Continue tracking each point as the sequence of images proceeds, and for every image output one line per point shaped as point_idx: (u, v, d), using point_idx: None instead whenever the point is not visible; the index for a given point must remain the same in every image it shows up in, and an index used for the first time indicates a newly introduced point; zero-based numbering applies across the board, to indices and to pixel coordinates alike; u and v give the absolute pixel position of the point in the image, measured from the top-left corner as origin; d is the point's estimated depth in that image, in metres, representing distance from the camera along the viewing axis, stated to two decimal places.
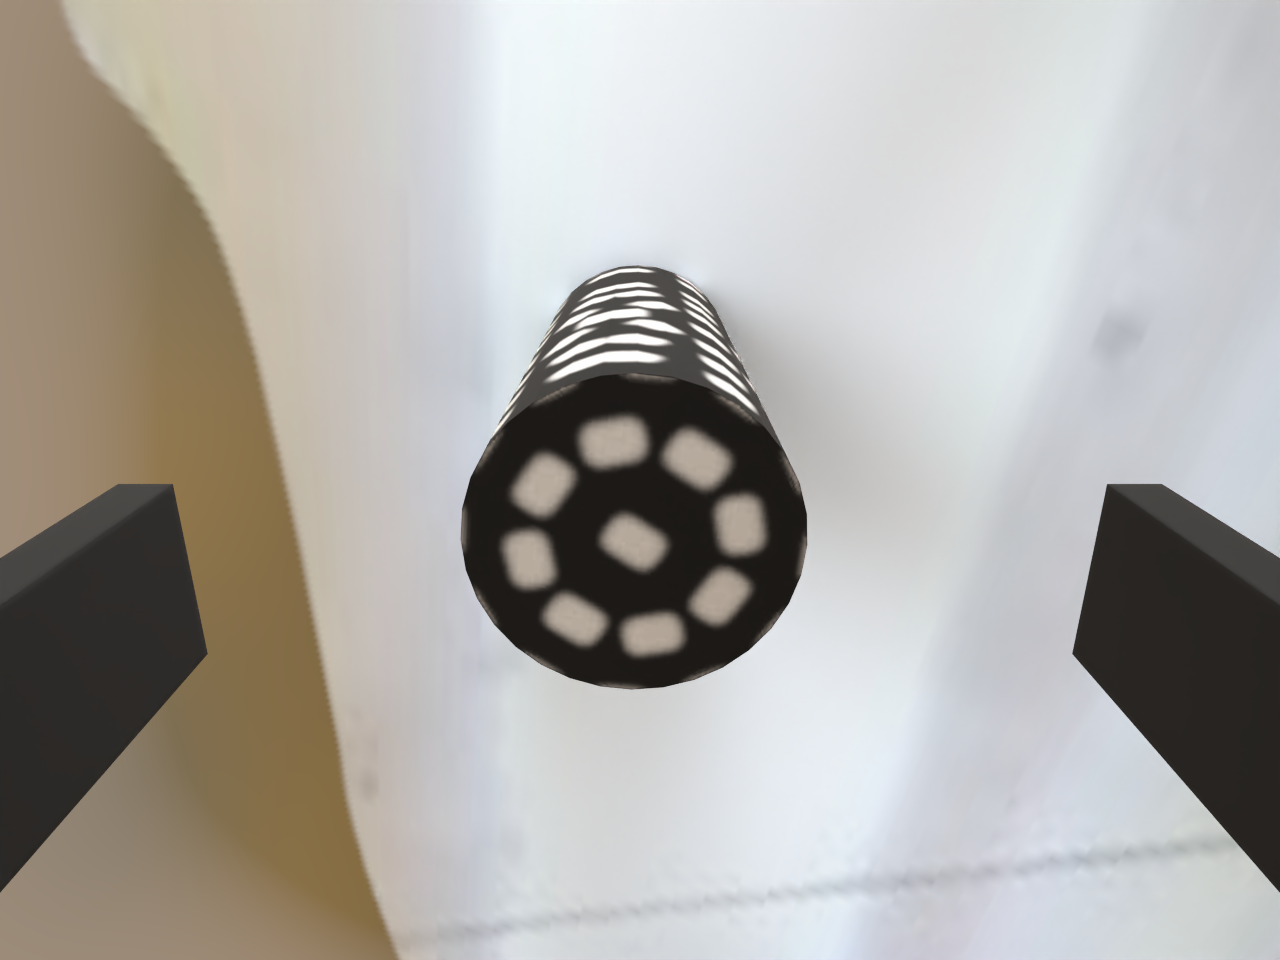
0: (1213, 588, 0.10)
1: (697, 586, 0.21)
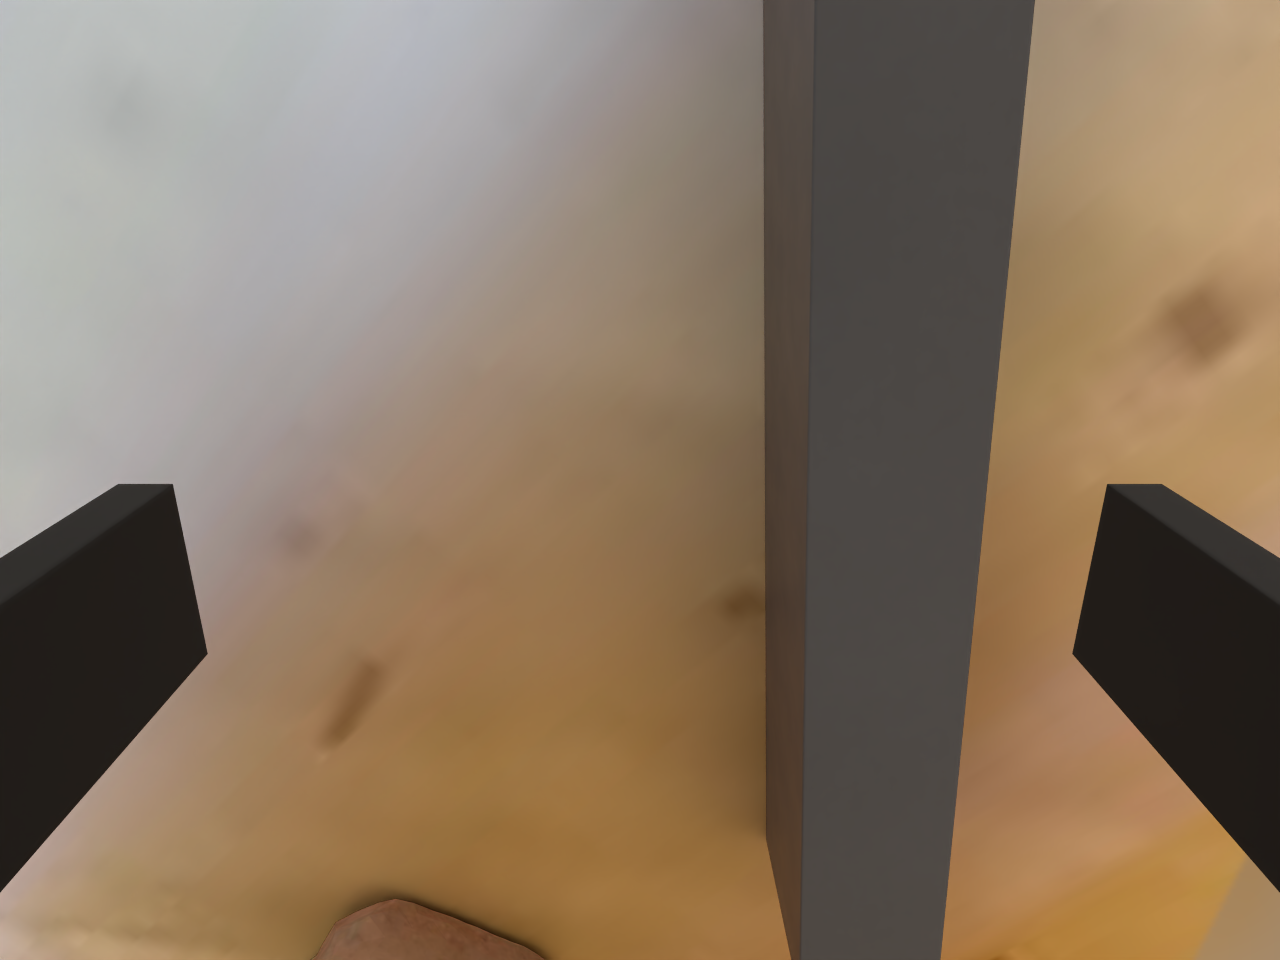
0: (1213, 588, 0.10)
1: None
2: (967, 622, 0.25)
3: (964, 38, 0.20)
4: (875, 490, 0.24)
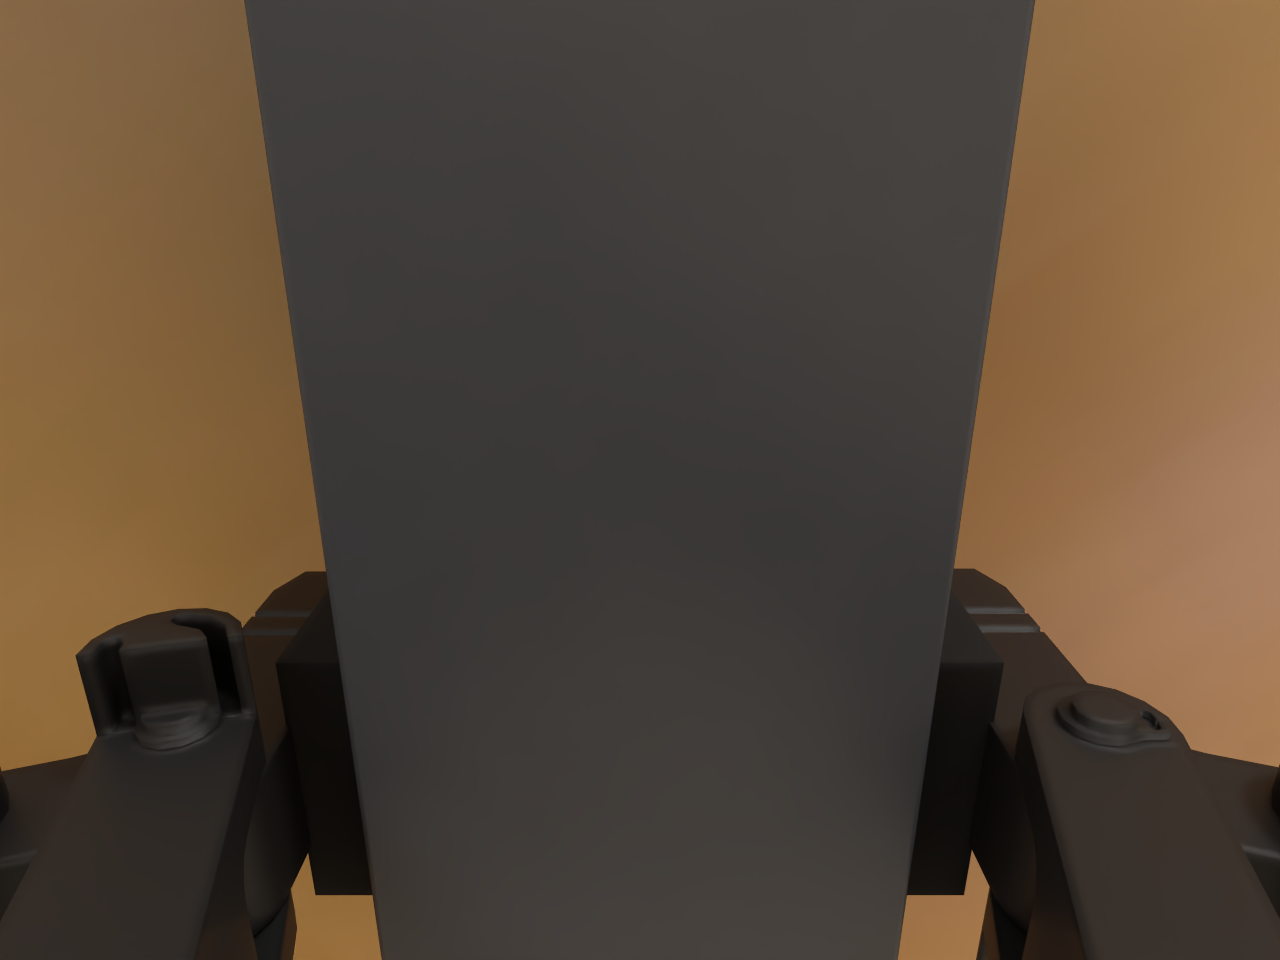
0: None
1: None
2: None
3: None
4: None
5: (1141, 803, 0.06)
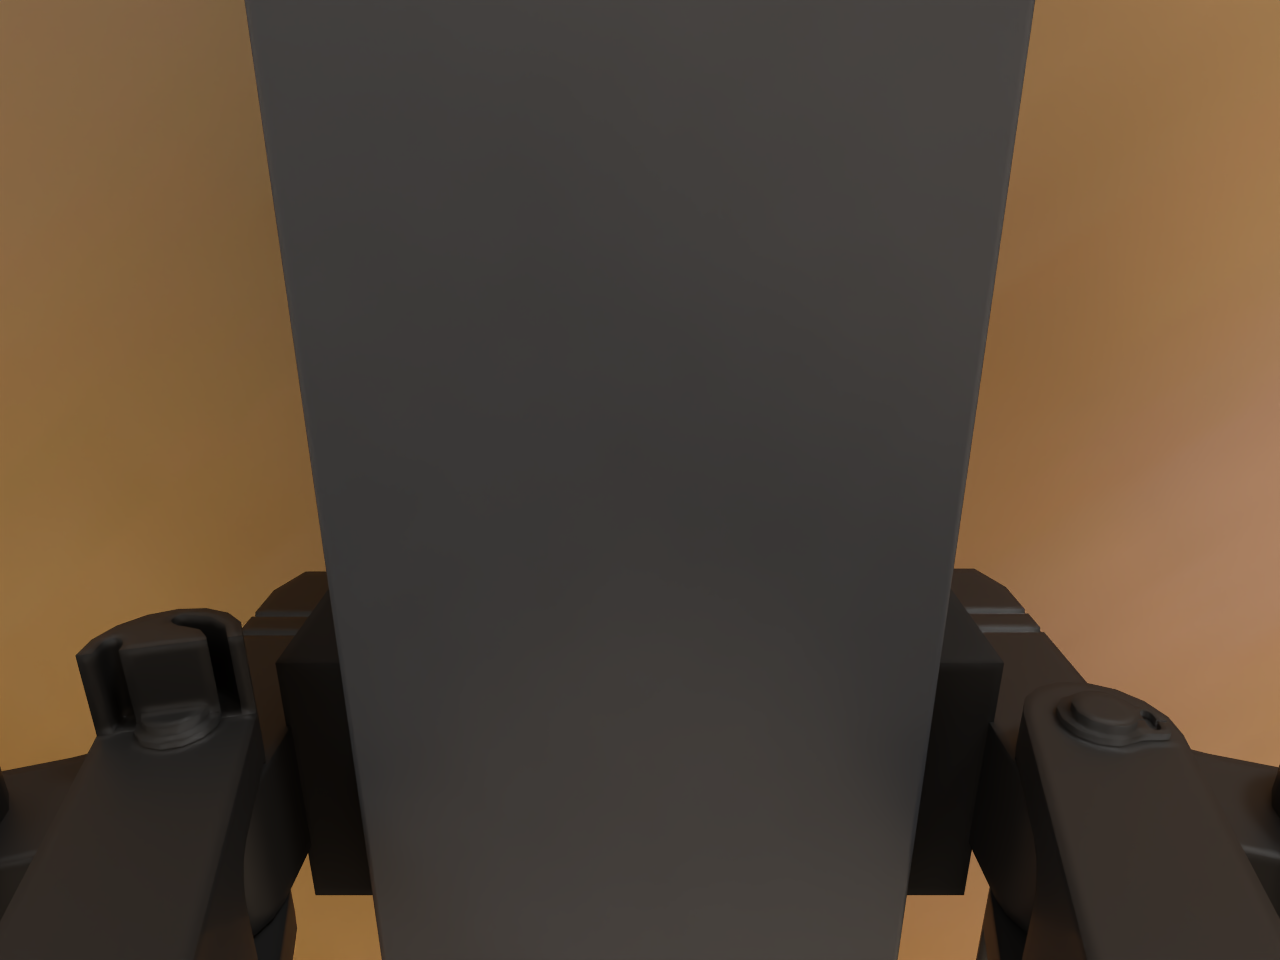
0: None
1: None
2: None
3: None
4: None
5: (1141, 803, 0.06)
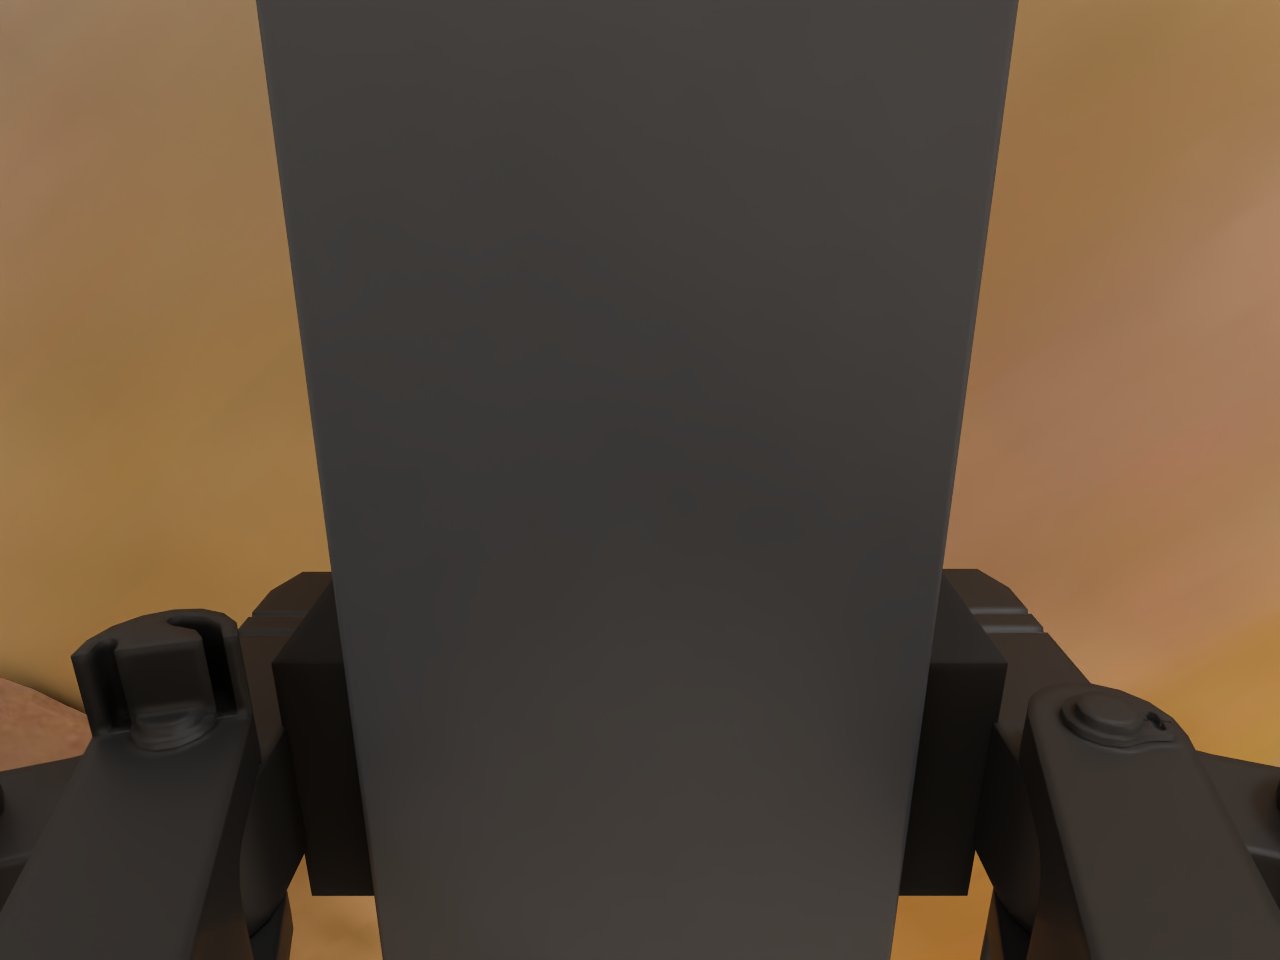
0: None
1: None
2: None
3: None
4: None
5: (1146, 803, 0.06)
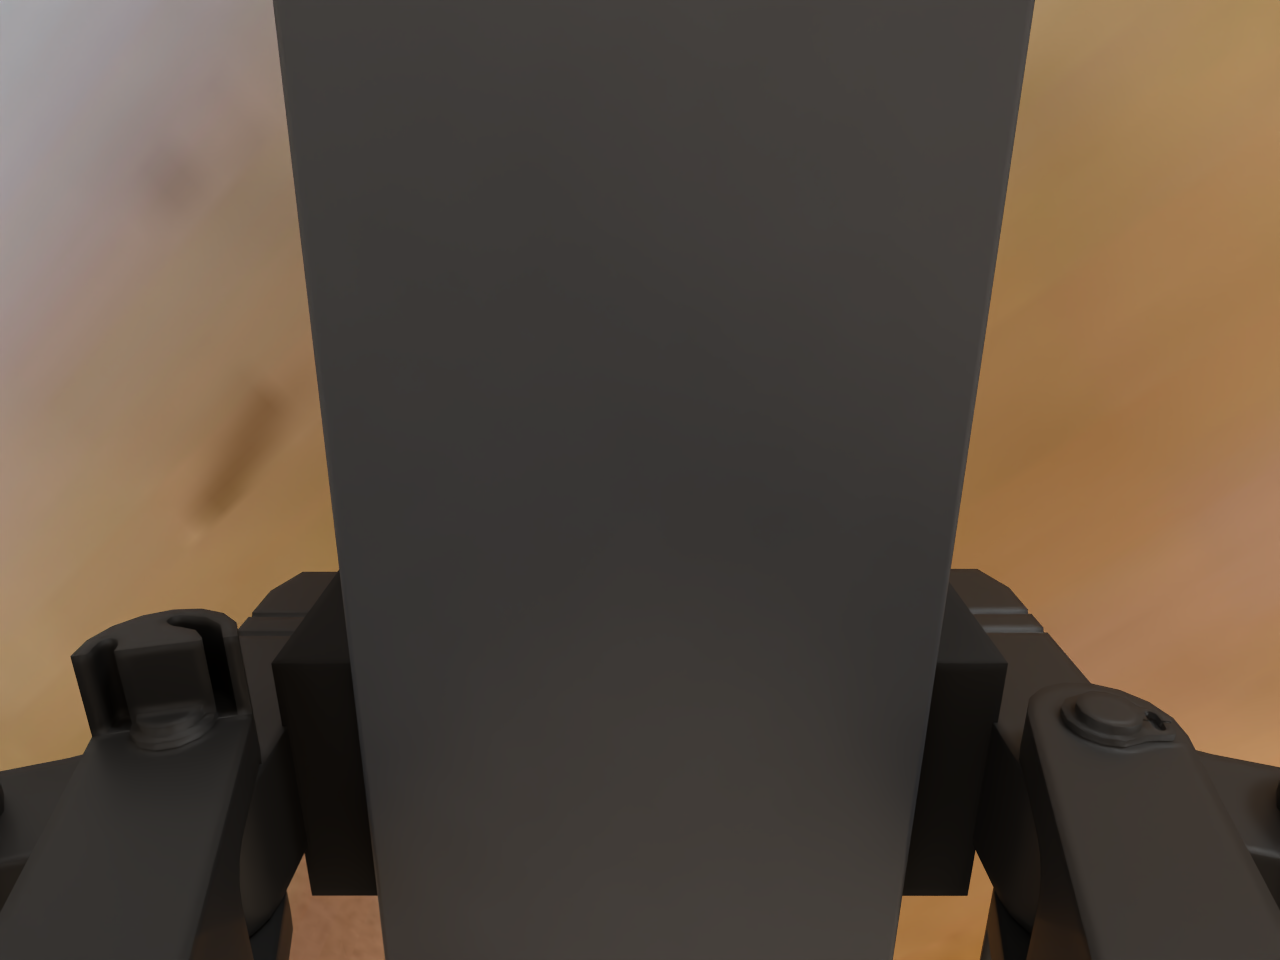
0: None
1: None
2: None
3: None
4: None
5: (1147, 803, 0.06)
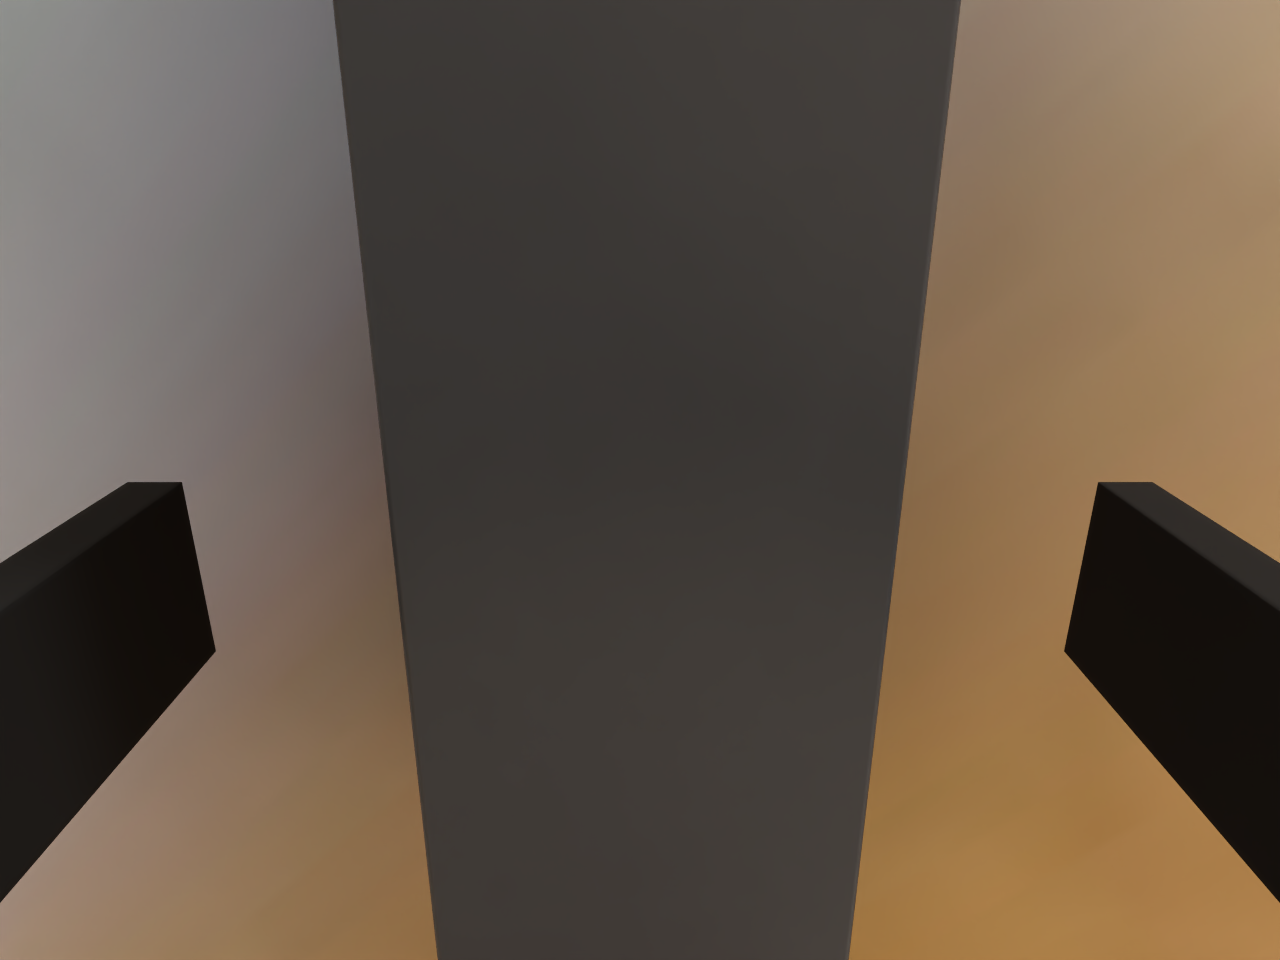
0: (1201, 585, 0.10)
1: None
2: None
3: None
4: None
5: None
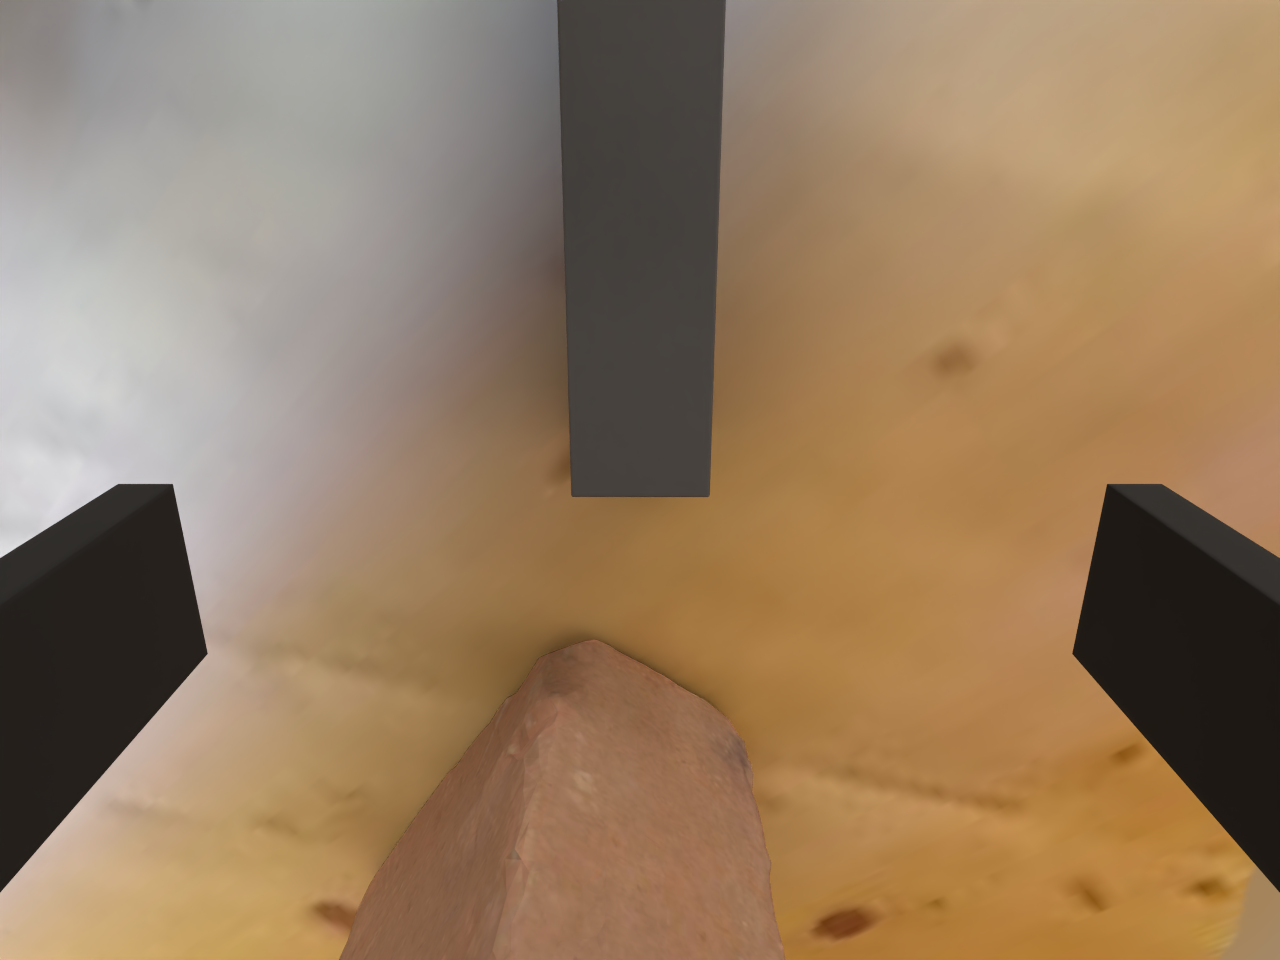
0: (1213, 588, 0.10)
1: None
2: (718, 25, 0.26)
3: None
4: None
5: None
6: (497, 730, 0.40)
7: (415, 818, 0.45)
